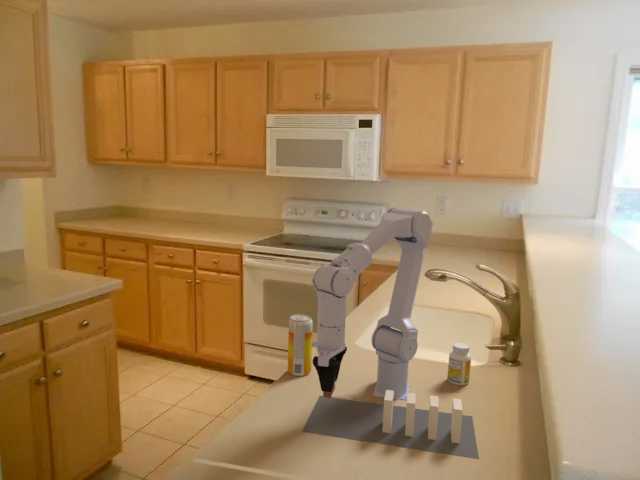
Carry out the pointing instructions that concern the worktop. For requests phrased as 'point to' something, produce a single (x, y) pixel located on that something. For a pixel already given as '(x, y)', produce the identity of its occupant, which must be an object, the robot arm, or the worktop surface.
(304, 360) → the beer can
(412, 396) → the ivory domino
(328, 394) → the terracotta domino
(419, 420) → the charcoal mat
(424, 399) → the worktop surface
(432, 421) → the ivory domino
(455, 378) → the supplement bottle
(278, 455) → the worktop surface
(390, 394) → the ivory domino
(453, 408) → the ivory domino
